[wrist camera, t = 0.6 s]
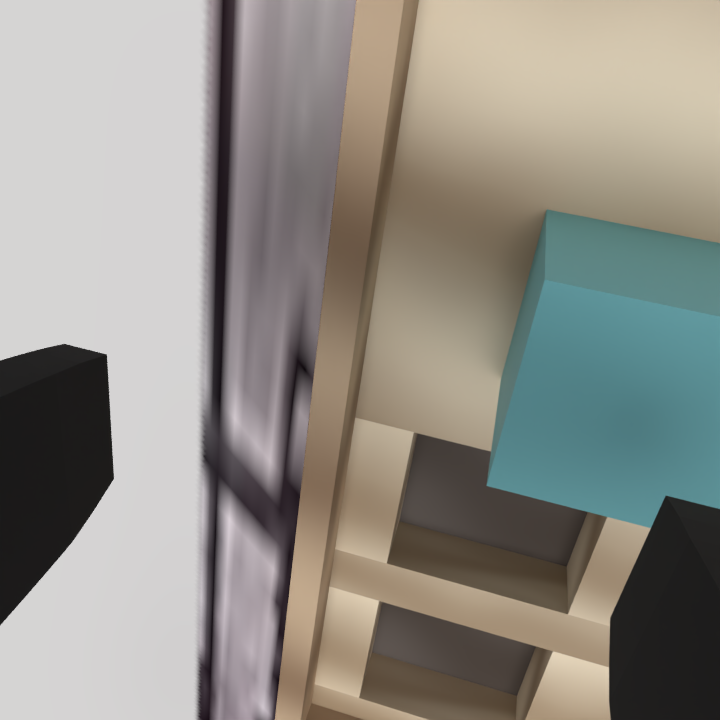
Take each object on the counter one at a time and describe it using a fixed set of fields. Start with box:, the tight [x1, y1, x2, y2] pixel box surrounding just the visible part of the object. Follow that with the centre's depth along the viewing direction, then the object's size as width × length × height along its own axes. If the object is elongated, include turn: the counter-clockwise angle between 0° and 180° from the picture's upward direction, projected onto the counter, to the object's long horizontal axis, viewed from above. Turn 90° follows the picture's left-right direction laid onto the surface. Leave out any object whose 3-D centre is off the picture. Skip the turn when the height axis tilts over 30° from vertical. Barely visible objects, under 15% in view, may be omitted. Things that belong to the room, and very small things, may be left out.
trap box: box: [275, 0, 720, 720], centre depth 17 cm, size 24×14×4 cm, turn 173°
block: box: [486, 209, 720, 528], centre depth 13 cm, size 4×4×4 cm
